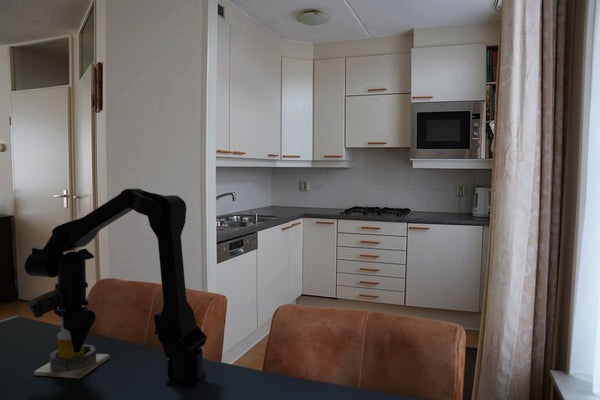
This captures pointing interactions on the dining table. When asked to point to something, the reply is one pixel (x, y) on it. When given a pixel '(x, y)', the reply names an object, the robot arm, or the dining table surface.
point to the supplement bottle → (67, 345)
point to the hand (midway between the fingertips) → (73, 345)
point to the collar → (72, 364)
